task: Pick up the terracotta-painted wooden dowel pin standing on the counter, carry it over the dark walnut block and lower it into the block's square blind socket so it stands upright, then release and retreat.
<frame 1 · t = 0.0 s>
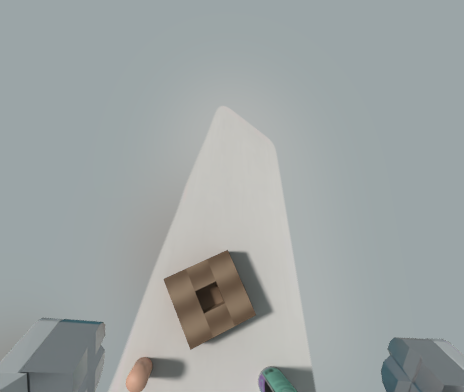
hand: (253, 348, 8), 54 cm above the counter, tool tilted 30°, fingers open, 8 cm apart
pin: (143, 367, 54), on the counter
bore block: (208, 294, 59), on the counter
spray can: (270, 380, 57), on the counter
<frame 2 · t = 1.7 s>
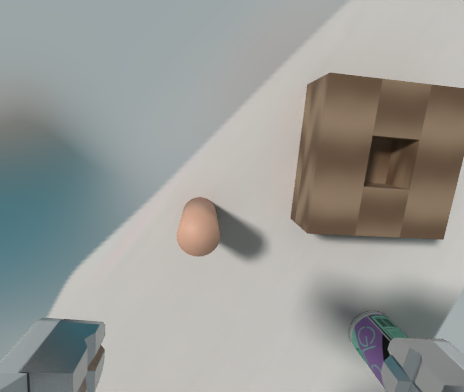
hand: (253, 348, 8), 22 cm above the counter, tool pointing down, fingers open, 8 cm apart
pin: (199, 213, 29), on the counter
bore block: (360, 159, 30), on the counter
spray can: (368, 328, 35), on the counter
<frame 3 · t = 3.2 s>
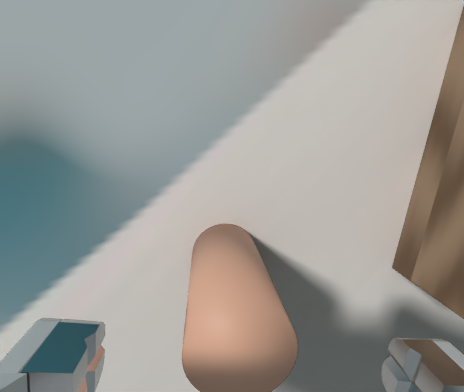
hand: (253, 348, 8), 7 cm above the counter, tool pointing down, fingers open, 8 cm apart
pin: (224, 254, 15), on the counter
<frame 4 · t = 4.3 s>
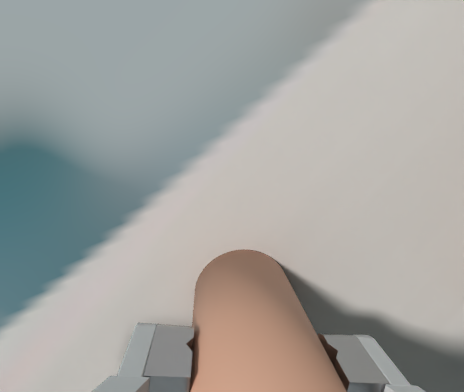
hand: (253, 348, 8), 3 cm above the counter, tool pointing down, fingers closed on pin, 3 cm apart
pin: (242, 292, 10), on the counter, touching gripper
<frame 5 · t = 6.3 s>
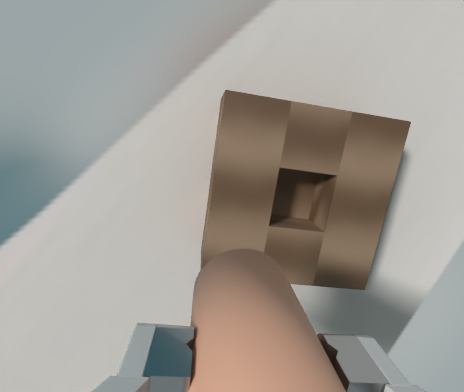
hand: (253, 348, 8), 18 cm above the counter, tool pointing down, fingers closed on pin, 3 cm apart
pin: (241, 291, 10), point 16 cm above the counter, touching gripper
bore block: (284, 188, 26), on the counter
when the fingers open (6 cm above the counter, at t = 8.5 s): pin drops 2 cm, resting on bore block.
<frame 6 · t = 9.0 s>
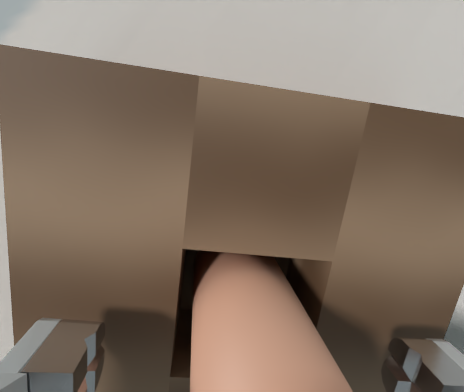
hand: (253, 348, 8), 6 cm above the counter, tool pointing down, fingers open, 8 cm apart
pin: (233, 267, 12), point 2 cm above the counter, touching bore block
bore block: (234, 251, 14), on the counter
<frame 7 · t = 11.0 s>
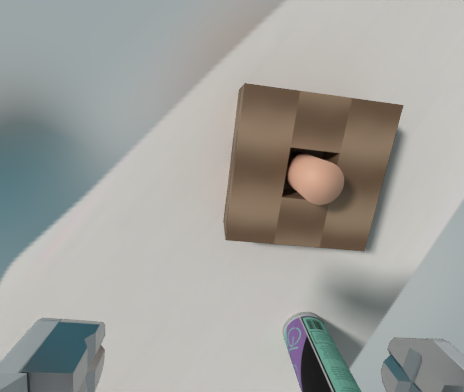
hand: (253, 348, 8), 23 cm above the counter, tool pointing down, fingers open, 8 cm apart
pin: (297, 169, 28), point 2 cm above the counter, touching bore block
bore block: (294, 166, 30), on the counter
spray can: (302, 328, 36), on the counter
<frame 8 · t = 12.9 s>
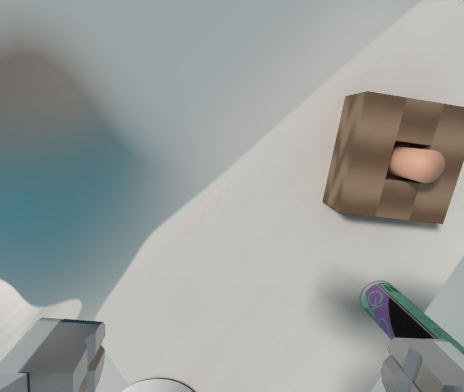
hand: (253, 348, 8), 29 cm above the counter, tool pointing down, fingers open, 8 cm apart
pin: (388, 159, 36), point 2 cm above the counter, touching bore block
bore block: (382, 158, 37), on the counter
spray can: (375, 295, 43), on the counter
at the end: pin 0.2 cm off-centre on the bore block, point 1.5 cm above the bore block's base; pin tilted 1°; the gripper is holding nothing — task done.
